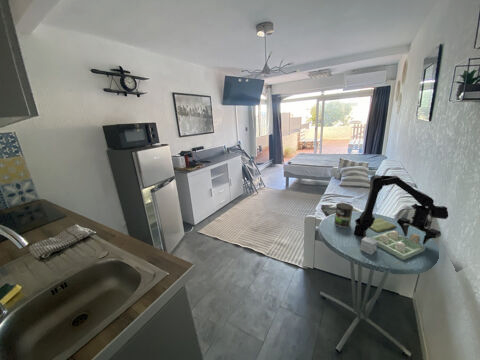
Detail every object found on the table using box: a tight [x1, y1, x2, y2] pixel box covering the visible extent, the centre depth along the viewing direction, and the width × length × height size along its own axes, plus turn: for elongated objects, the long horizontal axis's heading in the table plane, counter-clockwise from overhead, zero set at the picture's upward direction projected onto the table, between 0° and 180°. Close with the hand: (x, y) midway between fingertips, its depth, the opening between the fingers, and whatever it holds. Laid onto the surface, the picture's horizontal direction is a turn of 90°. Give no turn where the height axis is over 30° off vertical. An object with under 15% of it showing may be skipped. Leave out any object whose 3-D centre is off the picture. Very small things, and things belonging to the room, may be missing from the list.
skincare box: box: [359, 235, 378, 255], centre depth 111 cm, size 6×6×7 cm
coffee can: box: [334, 202, 354, 229], centre depth 139 cm, size 10×10×14 cm
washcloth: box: [368, 217, 397, 233], centre depth 136 cm, size 13×18×3 cm
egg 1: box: [379, 233, 389, 245], centre depth 115 cm, size 4×4×6 cm
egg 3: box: [395, 242, 406, 254], centre depth 108 cm, size 4×4×6 cm
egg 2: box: [389, 230, 400, 242], centre depth 118 cm, size 4×4×6 cm
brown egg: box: [409, 233, 421, 244], centre depth 116 cm, size 4×4×6 cm
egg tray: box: [371, 230, 426, 261], centre depth 114 cm, size 18×18×3 cm
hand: (414, 240), depth 116 cm, fingers open, 9 cm apart
